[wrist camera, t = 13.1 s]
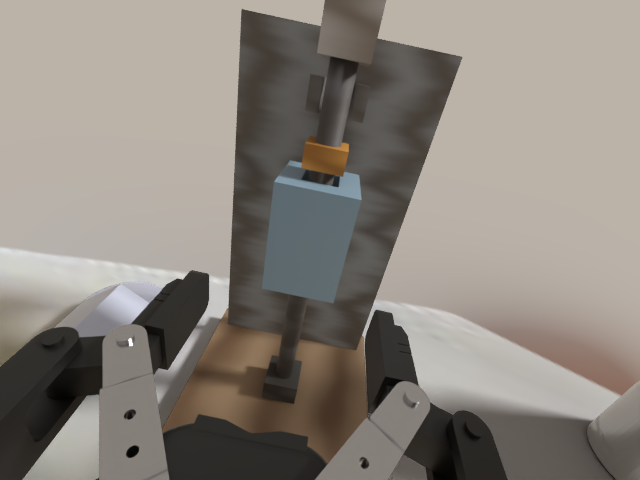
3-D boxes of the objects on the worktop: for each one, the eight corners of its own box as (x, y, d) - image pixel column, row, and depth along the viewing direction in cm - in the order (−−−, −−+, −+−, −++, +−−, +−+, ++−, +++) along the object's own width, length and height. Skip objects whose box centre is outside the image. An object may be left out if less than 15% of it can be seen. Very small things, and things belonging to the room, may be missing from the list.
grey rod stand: (359, 346, 39) (475, 31, 22) (364, 495, 25) (692, -55, 8) (226, 319, 39) (240, -20, 22) (157, 454, 25) (47, -197, 8)
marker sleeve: (336, 263, 26) (359, 175, 22) (333, 303, 21) (361, 200, 17) (277, 251, 25) (290, 160, 22) (261, 288, 21) (274, 181, 17)
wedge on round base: (122, 402, 28) (183, 308, 39) (111, 355, 25) (181, 267, 36) (24, 387, 27) (114, 296, 39) (-1, 337, 24) (106, 254, 36)
